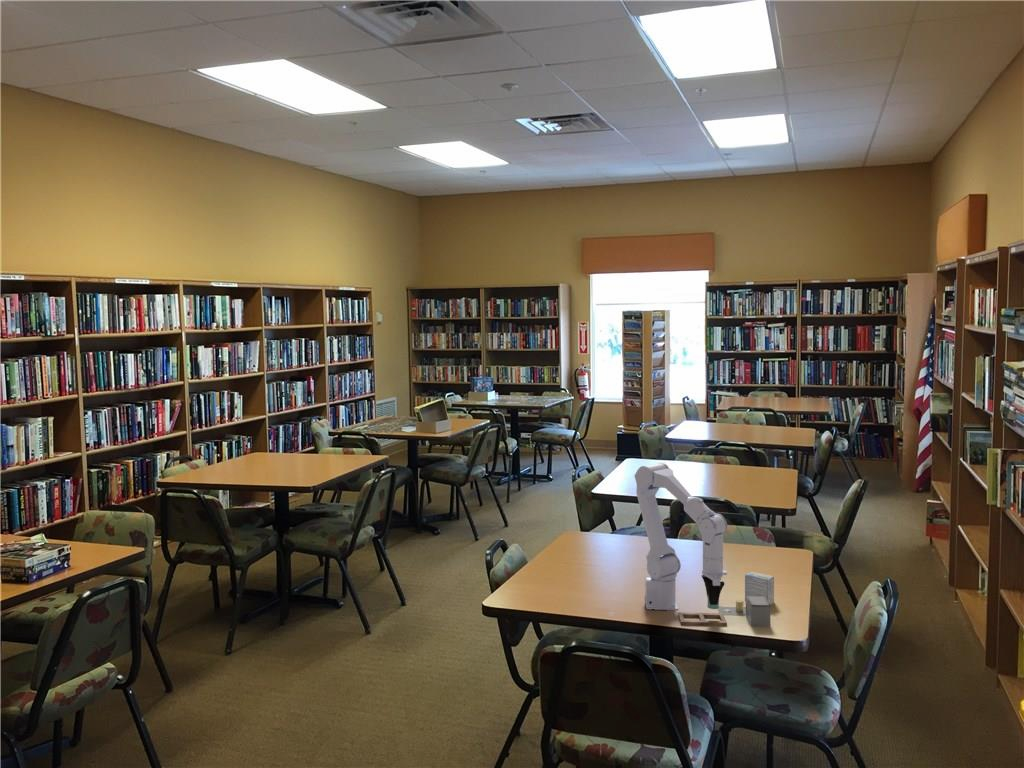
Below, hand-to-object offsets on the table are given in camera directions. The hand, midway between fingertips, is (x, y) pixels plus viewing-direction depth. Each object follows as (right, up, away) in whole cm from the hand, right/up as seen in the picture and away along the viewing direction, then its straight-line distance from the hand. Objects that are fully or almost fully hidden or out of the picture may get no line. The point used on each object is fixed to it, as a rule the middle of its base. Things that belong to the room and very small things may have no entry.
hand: (712, 602), depth 234 cm
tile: (+8, -5, +8) cm, 13 cm away
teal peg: (0, -2, 0) cm, 2 cm away
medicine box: (+19, -5, +16) cm, 25 cm away
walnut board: (-3, -6, +1) cm, 7 cm away
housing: (+13, -6, 0) cm, 14 cm away
